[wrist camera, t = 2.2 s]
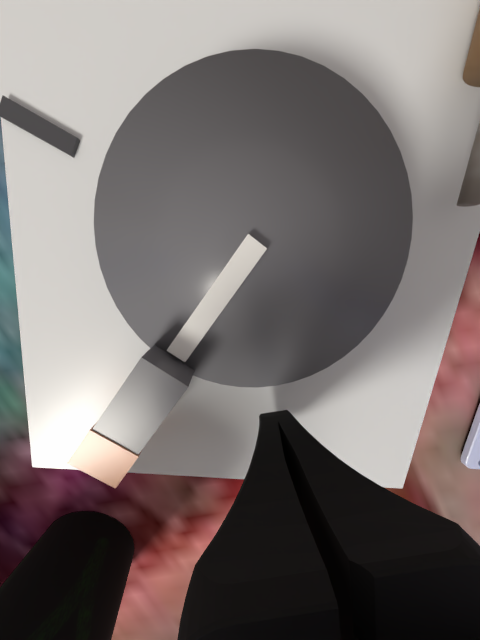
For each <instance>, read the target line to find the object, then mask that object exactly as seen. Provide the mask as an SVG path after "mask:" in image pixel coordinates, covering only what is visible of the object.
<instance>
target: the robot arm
mask: <svg viewBox="0 0 480 640" xmlns="http://www.w3.org/2000/svg"><path fill="white" fill-rule="evenodd" d="M461 462H462V463H463V464H464V465H466V466H467V467H468V468H471V469H480V404H479V406H478V409H477V412H476V415H475V418H474V421H473V424H472V426H471V429H470V432H469V435H468V438H467V441H466V444H465V446H464V449H463V452H462V455H461ZM178 640H480V546H479V545H478V544H477V543H476V542H475V541H474V540H473V539H472V538H471V537H470V536H469V535H468V534H467V533H466V532H465V531H464V530H463V529H462V528H461V527H460V526H459V525H458V524H457V523H455V522H453V521H451V520H448V519H446V518H444V517H442V516H440V515H437V514H435V513H433V512H431V511H428V510H426V509H424V508H422V507H420V506H417V505H415V504H413V503H411V502H409V501H408V500H406V499H404V498H402V497H400V496H398V495H396V494H394V493H392V492H390V491H389V490H387V489H385V488H383V487H381V486H380V485H378V484H376V483H375V482H373V481H372V480H370V479H368V478H367V477H365V476H363V475H362V474H360V473H359V472H357V471H356V470H354V469H353V468H351V467H350V466H348V465H347V464H346V463H344V462H343V461H342V460H340V459H339V458H338V457H336V456H335V455H334V454H333V453H331V452H330V451H329V450H328V449H327V448H325V447H324V446H323V445H322V444H321V443H320V442H319V441H317V440H316V439H315V438H314V437H313V436H312V435H311V434H310V433H309V432H308V431H307V430H306V429H305V428H304V427H303V426H302V425H301V424H300V423H299V422H298V421H297V420H296V419H295V417H294V416H293V415H292V414H291V413H290V412H289V411H288V410H282V411H276V412H269V413H262V414H260V416H259V431H258V437H257V441H256V446H255V450H254V453H253V457H252V460H251V463H250V466H249V469H248V472H247V474H246V477H245V479H244V482H243V484H242V486H241V489H240V491H239V493H238V495H237V497H236V499H235V501H234V503H233V505H232V507H231V509H230V511H229V513H228V514H227V516H226V518H225V520H224V521H223V523H222V525H221V527H220V528H219V530H218V532H217V533H216V535H215V537H214V538H213V540H212V541H211V542H210V544H209V545H208V547H207V548H206V550H205V551H204V553H203V554H202V556H201V557H200V559H199V560H198V562H197V563H196V565H195V568H194V571H193V574H192V577H191V580H190V584H189V587H188V591H187V594H186V598H185V602H184V607H183V611H182V616H181V621H180V627H179V634H178Z"/></svg>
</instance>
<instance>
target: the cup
mask: <svg viewBox="0 0 480 640" xmlns="http://www.w3.org/2000/svg"><path fill="white" fill-rule="evenodd" d="M133 554H134V542H133V538H132V536H131V534H130V532H129V531H128V530H127V529H126V527H125V526H124V525H123V524H121V523H120V522H119V521H117V520H116V519H114V518H112V517H110V516H108V515H105V514H101V513H97V512H89V511H81V512H74V513H70V514H67V515H65V516H62V517H60V518H59V519H57V520H56V521H54V522H53V523H52V525H51V526H50V527H49V528H48V529H47V531H46V532H45V533H44V534H43V535H42V537H41V538H40V539H39V540H38V542H37V543H36V544H35V545H34V546H33V548H32V549H31V550H30V551H29V553H28V554H27V555H26V556H25V558H24V559H23V560H22V561H21V562H20V564H19V565H18V566H17V567H16V569H15V570H14V571H13V572H12V573H11V575H10V576H9V577H8V578H7V580H6V581H5V582H4V583H3V585H2V586H1V587H0V640H111V638H112V634H113V630H114V627H115V623H116V619H117V615H118V611H119V608H120V604H121V600H122V596H123V593H124V589H125V585H126V581H127V577H128V574H129V570H130V566H131V562H132V559H133Z"/></svg>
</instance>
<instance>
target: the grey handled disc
mask: <svg viewBox="0 0 480 640" xmlns="http://www.w3.org/2000/svg"><path fill="white" fill-rule="evenodd" d="M412 224H413V210H412V195H411V189H410V184H409V179H408V173H407V170H406V167H405V164H404V161H403V158H402V155H401V151H400V149H399V147H398V145H397V143H396V141H395V139H394V137H393V135H392V133H391V130H390V129H389V127H388V126H387V124H386V123H385V121H384V120H383V118H382V117H381V115H380V114H379V112H378V111H377V110H376V109H375V107H374V106H373V105H372V104H371V103H370V102H369V101H368V99H367V98H366V97H365V96H364V95H363V94H362V93H361V92H360V91H359V90H358V89H356V88H355V87H354V86H353V85H352V84H350V83H349V82H348V81H347V80H346V79H345V78H343V77H341V76H340V75H338V74H337V73H335V72H333V71H332V70H330V69H329V68H327V67H325V66H323V65H321V64H319V63H316V62H314V61H312V60H309V59H307V58H305V57H302V56H298V55H294V54H290V53H286V52H282V51H276V50H264V49H245V50H232V51H227V52H223V53H219V54H215V55H211V56H207V57H204V58H202V59H200V60H197V61H195V62H192V63H190V64H188V65H185V66H183V67H182V68H180V69H179V70H177V71H175V72H174V73H172V74H170V75H169V76H167V77H165V78H164V79H163V80H162V81H160V82H159V83H158V84H157V85H156V86H154V87H153V88H152V89H151V90H150V91H149V92H147V93H146V94H145V95H144V96H143V97H142V99H141V100H140V101H139V102H138V103H137V104H136V105H135V106H134V108H133V109H132V110H131V111H130V112H129V114H128V115H127V117H126V118H125V120H124V121H123V123H122V124H121V126H120V127H119V129H118V130H117V132H116V134H115V136H114V138H113V140H112V142H111V144H110V147H109V149H108V151H107V153H106V155H105V158H104V162H103V165H102V168H101V171H100V174H99V178H98V184H97V189H96V195H95V203H94V234H95V246H96V250H97V255H98V260H99V265H100V269H101V271H102V274H103V277H104V280H105V283H106V286H107V288H108V291H109V293H110V295H111V297H112V299H113V301H114V303H115V305H116V307H117V308H118V310H119V311H120V313H121V314H122V316H123V317H124V319H125V321H126V322H127V324H128V325H129V326H130V327H131V328H132V330H133V331H134V332H135V333H136V334H137V336H138V337H139V338H140V339H141V340H142V341H143V342H144V343H145V344H146V345H147V346H148V347H150V349H149V350H148V351H147V352H146V353H145V354H144V355H143V356H142V357H141V358H140V360H139V361H138V363H137V364H136V366H135V367H134V369H133V370H132V372H131V373H130V375H129V376H128V377H127V379H126V380H125V382H124V383H123V385H122V386H121V388H120V389H119V391H118V392H117V394H116V395H115V397H114V398H113V399H112V401H111V402H110V404H109V405H108V407H107V408H106V410H105V411H104V413H103V414H102V416H101V417H100V418H99V420H98V421H97V422H96V423H95V424H94V426H93V427H92V428H91V429H90V430H89V432H88V433H87V435H86V436H85V438H84V439H83V440H82V442H81V443H80V445H79V446H78V448H77V449H76V451H75V452H74V454H73V455H72V457H71V458H70V460H69V461H68V463H67V464H69V465H71V466H73V467H75V468H77V469H79V470H81V471H83V472H85V473H87V474H88V475H90V476H92V477H94V478H96V479H98V480H100V481H102V482H104V483H106V484H108V485H110V486H112V487H114V488H116V487H117V486H118V484H119V483H120V482H121V480H122V479H123V478H124V476H125V475H126V474H127V472H128V471H129V470H130V468H131V467H132V465H133V464H134V463H135V461H136V460H137V459H138V457H139V455H140V453H141V451H142V449H143V448H144V447H145V445H146V444H147V442H148V441H149V440H150V438H151V437H152V436H153V434H154V433H155V432H156V430H157V429H158V428H159V426H160V425H161V424H162V422H163V421H164V419H165V418H166V417H167V415H168V414H169V413H170V411H171V410H172V409H173V407H174V406H175V405H176V403H177V402H178V401H179V399H180V398H181V396H182V395H183V394H184V392H185V391H186V390H187V388H188V387H189V384H190V382H191V379H192V376H196V377H198V378H201V379H203V380H207V381H210V382H214V383H218V384H222V385H228V386H236V387H268V386H277V385H281V384H286V383H290V382H294V381H297V380H300V379H303V378H306V377H309V376H311V375H313V374H315V373H317V372H319V371H321V370H324V369H326V368H328V367H329V366H331V365H332V364H334V363H335V362H337V361H338V360H340V359H342V358H343V357H344V356H346V355H347V354H348V353H349V352H350V351H352V350H353V349H354V348H355V347H356V346H358V345H359V344H360V343H361V342H362V340H363V339H364V338H365V337H366V336H367V335H368V334H369V333H370V332H371V331H372V330H373V328H374V327H375V326H376V324H377V323H378V322H379V320H380V319H381V318H382V316H383V315H384V313H385V312H386V310H387V308H388V307H389V305H390V303H391V301H392V300H393V298H394V296H395V293H396V291H397V289H398V287H399V284H400V282H401V280H402V277H403V273H404V270H405V267H406V264H407V260H408V256H409V250H410V245H411V239H412Z"/></svg>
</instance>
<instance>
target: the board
mask: <svg viewBox="0 0 480 640" xmlns="http://www.w3.org/2000/svg"><path fill="white" fill-rule="evenodd" d="M479 8H480V0H0V117H1V124H2V135H3V146H4V157H5V169H6V180H7V191H8V202H9V213H10V224H11V236H12V247H13V258H14V269H15V280H16V291H17V303H18V314H19V325H20V336H21V347H22V358H23V370H24V381H25V392H26V403H27V414H28V425H29V437H30V448H31V459H32V467H39V468H57V469H74V470H79V469H77V468H75V467H73V466H71V465H69V464H67V463H68V461H69V460H70V458H71V457H72V455H73V454H74V452H75V451H76V449H77V448H78V446H79V445H80V443H81V442H82V440H83V439H84V438H85V436H86V435H87V433H88V432H89V430H90V429H91V428H92V427H93V426H94V424H95V423H96V422H97V421H98V420H99V418H100V417H101V416H102V414H103V413H104V411H105V410H106V408H107V407H108V405H109V404H110V402H111V401H112V399H113V398H114V397H115V395H116V394H117V392H118V391H119V389H120V388H121V386H122V385H123V383H124V382H125V380H126V379H127V377H128V376H129V375H130V373H131V372H132V370H133V369H134V367H135V366H136V364H137V363H138V361H139V360H140V358H141V357H142V356H143V355H144V354H145V353H146V352H147V351H148V350H149V349H150V347H148V346H147V345H146V344H145V343H144V342H143V341H142V340H141V339H140V338H139V337H138V336H137V334H136V333H135V332H134V331H133V330H132V328H131V327H130V326H129V325H128V324H127V322H126V321H125V319H124V317H123V316H122V314H121V313H120V311H119V310H118V308H117V307H116V305H115V303H114V301H113V299H112V297H111V295H110V293H109V291H108V288H107V286H106V283H105V280H104V277H103V274H102V271H101V269H100V265H99V260H98V255H97V250H96V246H95V234H94V203H95V195H96V189H97V184H98V178H99V174H100V171H101V168H102V165H103V162H104V158H105V155H106V153H107V151H108V149H109V147H110V144H111V142H112V140H113V138H114V136H115V134H116V132H117V130H118V129H119V127H120V126H121V124H122V123H123V121H124V120H125V118H126V117H127V115H128V114H129V112H130V111H131V110H132V109H133V108H134V106H135V105H136V104H137V103H138V102H139V101H140V100H141V99H142V97H143V96H144V95H145V94H146V93H147V92H149V91H150V90H151V89H152V88H153V87H154V86H156V85H157V84H158V83H159V82H160V81H162V80H163V79H164V78H165V77H167V76H169V75H170V74H172V73H174V72H175V71H177V70H179V69H180V68H182V67H183V66H185V65H188V64H190V63H192V62H195V61H197V60H200V59H202V58H204V57H207V56H211V55H215V54H219V53H223V52H227V51H232V50H245V49H264V50H276V51H282V52H286V53H290V54H294V55H298V56H302V57H305V58H307V59H309V60H312V61H314V62H316V63H319V64H321V65H323V66H325V67H327V68H329V69H330V70H332V71H333V72H335V73H337V74H338V75H340V76H341V77H343V78H345V79H346V80H347V81H348V82H349V83H350V84H352V85H353V86H354V87H355V88H356V89H358V90H359V91H360V92H361V93H362V94H363V95H364V96H365V97H366V98H367V99H368V101H369V102H370V103H371V104H372V105H373V106H374V107H375V109H376V110H377V111H378V112H379V114H380V115H381V117H382V118H383V120H384V121H385V123H386V124H387V126H388V127H389V129H390V130H391V133H392V135H393V137H394V139H395V141H396V143H397V145H398V147H399V149H400V151H401V155H402V158H403V161H404V164H405V167H406V170H407V173H408V179H409V184H410V189H411V195H412V210H413V224H412V239H411V245H410V250H409V256H408V260H407V264H406V267H405V270H404V273H403V277H402V280H401V282H400V284H399V287H398V289H397V291H396V293H395V296H394V298H393V300H392V301H391V303H390V305H389V307H388V308H387V310H386V312H385V313H384V315H383V316H382V318H381V319H380V320H379V322H378V323H377V324H376V326H375V327H374V328H373V330H372V331H371V332H370V333H369V334H368V335H367V336H366V337H365V338H364V339H363V340H362V342H361V343H360V344H359V345H358V346H356V347H355V348H354V349H353V350H352V351H350V352H349V353H348V354H347V355H346V356H344V357H343V358H342V359H340V360H338V361H337V362H335V363H334V364H332V365H331V366H329V367H328V368H326V369H324V370H321V371H319V372H317V373H315V374H313V375H311V376H309V377H306V378H303V379H300V380H297V381H294V382H290V383H286V384H281V385H277V386H268V387H236V386H228V385H222V384H218V383H214V382H210V381H207V380H203V379H201V378H198V377H196V376H192V379H191V382H190V384H189V387H188V388H187V390H186V391H185V392H184V394H183V395H182V396H181V398H180V399H179V401H178V402H177V403H176V405H175V406H174V407H173V409H172V410H171V411H170V413H169V414H168V415H167V417H166V418H165V419H164V421H163V422H162V424H161V425H160V426H159V428H158V429H157V430H156V432H155V433H154V434H153V436H152V437H151V438H150V440H149V441H148V442H147V444H146V445H145V447H144V448H143V449H142V451H141V453H140V455H139V457H138V459H137V460H136V461H135V463H134V464H133V465H132V467H131V468H130V470H129V471H128V472H127V473H144V474H161V475H178V476H196V477H213V478H231V479H245V477H246V474H247V472H248V469H249V466H250V463H251V460H252V457H253V453H254V450H255V446H256V441H257V437H258V431H259V416H260V414H262V413H269V412H276V411H282V410H288V411H289V412H290V413H291V414H292V415H293V416H294V417H295V419H296V420H297V421H298V422H299V423H300V424H301V425H302V426H303V427H304V428H305V429H306V430H307V431H308V432H309V433H310V434H311V435H312V436H313V437H314V438H315V439H316V440H317V441H319V442H320V443H321V444H322V445H323V446H324V447H325V448H327V449H328V450H329V451H330V452H331V453H333V454H334V455H335V456H336V457H338V458H339V459H340V460H342V461H343V462H344V463H346V464H347V465H348V466H350V467H351V468H353V469H354V470H356V471H357V472H359V473H360V474H362V475H363V476H365V477H367V478H368V479H370V480H372V481H373V482H375V483H376V484H378V485H380V486H381V487H387V488H403V485H404V482H405V479H406V475H407V472H408V469H409V465H410V462H411V459H412V455H413V452H414V449H415V445H416V442H417V439H418V435H419V432H420V429H421V425H422V422H423V419H424V415H425V412H426V409H427V405H428V402H429V399H430V395H431V392H432V389H433V385H434V382H435V379H436V375H437V372H438V369H439V365H440V362H441V359H442V355H443V352H444V349H445V345H446V342H447V339H448V335H449V332H450V329H451V325H452V322H453V319H454V315H455V312H456V309H457V306H458V302H459V299H460V296H461V292H462V289H463V286H464V282H465V279H466V276H467V272H468V269H469V266H470V262H471V259H472V256H473V252H474V249H475V246H476V242H477V239H478V236H479V232H480V204H479V205H476V206H468V207H461V206H457V201H458V198H459V194H460V190H461V187H462V183H463V179H464V176H465V172H466V169H467V165H468V161H469V158H470V154H471V150H472V147H473V143H474V140H475V136H476V132H477V129H478V125H479V121H480V87H474V86H470V85H467V84H466V83H465V82H464V80H463V71H464V67H465V64H466V60H467V56H468V52H469V48H470V44H471V40H472V36H473V32H474V28H475V24H476V20H477V16H478V12H479Z"/></svg>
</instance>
